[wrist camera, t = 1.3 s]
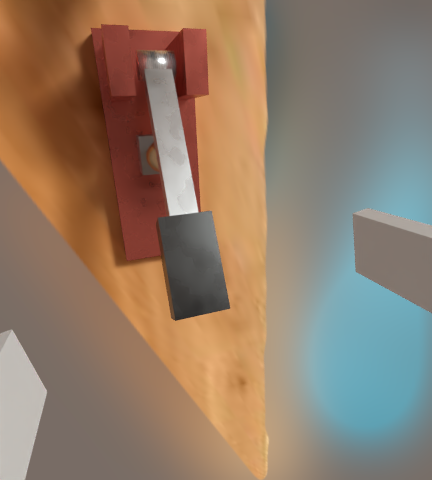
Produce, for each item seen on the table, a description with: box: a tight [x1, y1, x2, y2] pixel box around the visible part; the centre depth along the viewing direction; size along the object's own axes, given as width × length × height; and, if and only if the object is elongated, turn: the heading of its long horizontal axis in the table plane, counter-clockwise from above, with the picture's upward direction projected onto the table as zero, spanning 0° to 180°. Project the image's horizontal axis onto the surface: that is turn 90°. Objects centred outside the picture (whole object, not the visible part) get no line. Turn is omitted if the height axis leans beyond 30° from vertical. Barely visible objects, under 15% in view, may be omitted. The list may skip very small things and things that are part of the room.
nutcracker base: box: [91, 24, 209, 261], centre depth 34 cm, size 25×10×10 cm, turn 2°
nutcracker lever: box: [135, 50, 230, 321], centre depth 26 cm, size 23×4×2 cm, turn 2°
